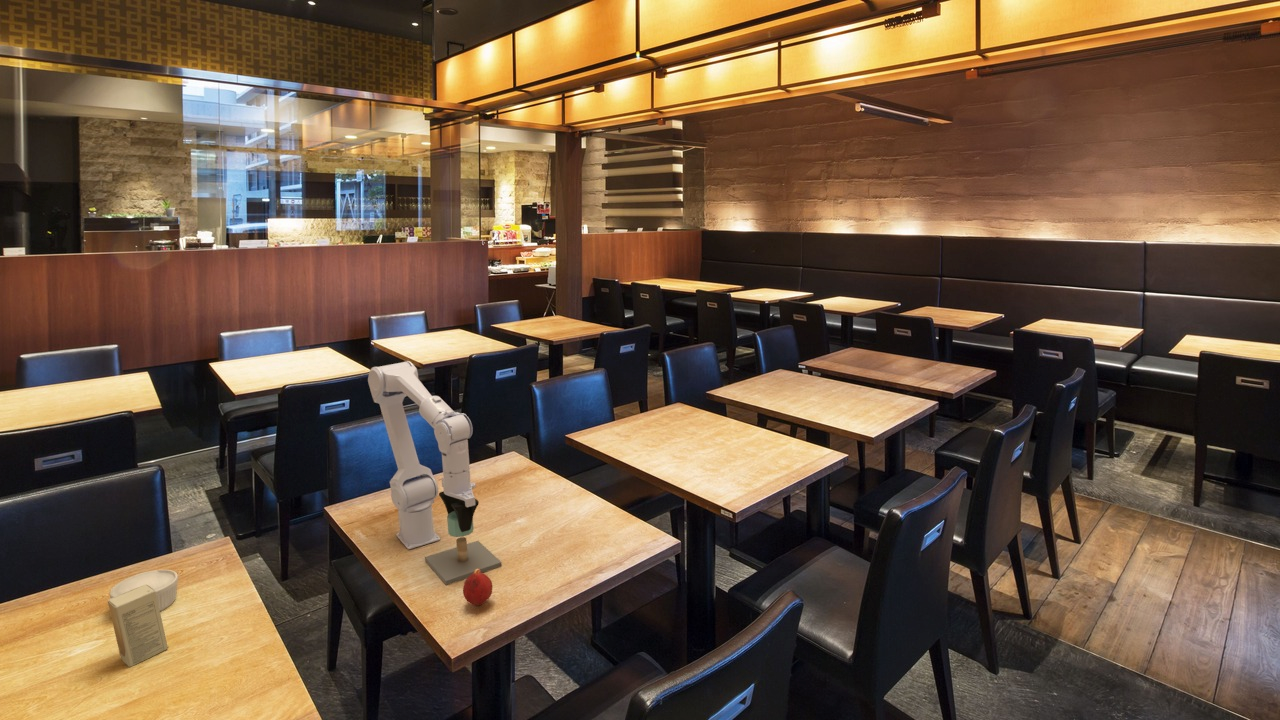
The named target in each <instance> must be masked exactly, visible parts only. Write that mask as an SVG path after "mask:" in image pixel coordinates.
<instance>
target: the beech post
mask: <svg viewBox="0 0 1280 720" xmlns="http://www.w3.org/2000/svg"><path fill="white" fill-rule="evenodd" d="M467 541H468V540H467V537H466V536H463V537H457V539H456V541H455V542H456V547H457V555H458V561H459V562H465V561H467V560H468V554H467V544H468V543H467Z"/></svg>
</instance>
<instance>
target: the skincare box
mask: <svg viewBox="0 0 1280 720" xmlns="http://www.w3.org/2000/svg"><path fill="white" fill-rule="evenodd" d="M107 605H108V608H109V613H110V617H111V621H112V626H113V630H114V635H115V639H116V643H117V648H118V652H119V656H120V659H121V661H122V662H123V663H124V664H125V665H126V666H127V667H128V668H131V667H133V666H135V665H137V664H140V663H141V662H143V661H146V660H148V659H150V658H152V657H154V656H156V655H158V654H160V653H162V652H164V651H166V650H168V649H169V646H168V643H167V638H166V633H165V628H164V624H163V619H162V615H161V611H160V609H159V605H158V600H157V596H156V591H155V590H154V589H153V588H151V587H150V586H148V585H147V584H145V585H143V586H140V587H138V588H135V589H133V590H130V591H128V592H126V593H123V594H121V595H118V596H116V597H113V598H109V599H107Z"/></svg>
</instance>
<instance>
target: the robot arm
mask: <svg viewBox="0 0 1280 720" xmlns="http://www.w3.org/2000/svg"><path fill="white" fill-rule="evenodd" d="M367 382H368V386H369V389H370V390H369V391H370V393H371V397H372V401H373V403H376V404H379V407H380V411H381V414H382V417H383V421H384V424H385V428H386V429H385V430H386V433H387V435H388V439H389V443H390V446H391V450H392V452H393V457H394V460H395V463H396V466H397V471H396V472H395V473H394V475H393V477H392V478H390V480H389V486H390V497H391V501H392V503H393V505H394V507H395V508H397V509H398V511H397V513H398V525H399V532H397V533H396V534H395V536H396V537H397V538H398V539H399V541H400V542H401V543H402V544H403V545H404V547H406V549H407V550H412V549H414V548H418V547H423V546H424V545H427V544H431V543H434V542H438V541H440V540H441V537H440V536H439V535H438V534H437V533H436V532H435V529H434V517H433V506H432V505H433V504H435V499H437V497H438V496H439V497H440V498H441V501H442V502H443V504H444V506H445V510H446V512H447V515H448V514H449V513H451V512H453V511H455V513H456V515H457V519H458V523H459V528H460V530H461V532H465V531H468V530H470V529H471V525H472V520H473V521H474V516H475V512H476V509H477V507H479V500H478V499H477V498H476V497H475V496H474V493H473V489H475V488H476V487H477V485H476V482H474V481H473V482H471V470H470V468H471V467H470V455H469V440H468V439H471V437H472V435H473V431H474V430H473V429H474V428H473V424H472V421H471V419H470V418H469V416H467V414H466V413H464V412H463V413H462V412H461V413H460V412H458V411H457V412H456V411H455V410H453V409H452V408H451V407H450V405H448V404H447V403H446V402H445V401H444V400H443V399H442V398H441V396H439V395H432V394H431V393H430V392H429V391H428V389H427V388H426V387H425V386H424V384H423V382H422V381H420V379H419V372H418V368H417V367H416V366H415V364H414V363H412V362H411V361H410V360H405V361H402V362H398V363H397V362H396V363H393V364H392V363H391V364H386V365H382V366H381V365H380V366H373V367H371V368H370V370H369V373H368V377H367ZM406 397H408V398H409V399H410V400H411V401H412V402H414V403H415V404H416V405H417V406H418V407H419V411H418V412H419V415H420V416H421V417H422V418H423V419H424V420H425V421H426V422H427V423H428V424H429V426H431V427H432V429H433V433H434V437H435V440H436V441H437V445H438V450H439V452H441V461H442V475H443V478H441V487H442V488H443V491H440V492H439V483H438V482H437V479H435V477H434V474H433V472H432V469H431V468H429V467H427V466H425V465H422V464H420V460H419V458H418V455H417V454H418V453H417V450H416V447H415V442H414V439H413V437H412V432H411V429H410V427H409V423H408V422H409V421H408V419H407V415H406V412H405V409H404V404H403V402H404V400H405V398H406ZM416 477H417V478H416ZM413 478H414V479H413ZM410 479H411V480H410Z"/></svg>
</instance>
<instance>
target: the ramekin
mask: <svg viewBox="0 0 1280 720" xmlns="http://www.w3.org/2000/svg"><path fill="white" fill-rule="evenodd" d="M178 582H179V574H178V573H177V572H176V571H174V570H171V569H155V570H154V569H152V570H148V571H144V572H141V573H136V574H134V575H132V576H129V577H127V578H125V579H122V580H121V581H119V582H117V583H116V584H115V585H114V586H113V587H111V589H110V591H109V597H110V598H109V599H111V598H113V597H116V596H118V595H121V594H123V593H126V592H128V591H130V590H133V589H135V588H138V587H140V586H143V585H145V584H147V585H148V586H150V587H151V588H153V589H154V590H155V591H156V596H157V600H158V605H159V609H160V612H162V611H163V610H166V609H167V608H168V607H170V606H171V605H172V604H173V603H174V601H175V600H176V598H177V592H178Z"/></svg>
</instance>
